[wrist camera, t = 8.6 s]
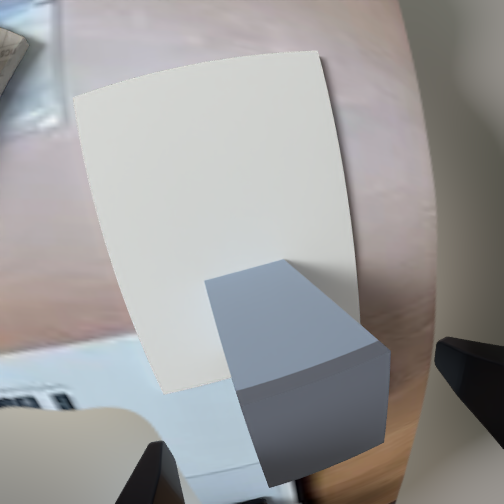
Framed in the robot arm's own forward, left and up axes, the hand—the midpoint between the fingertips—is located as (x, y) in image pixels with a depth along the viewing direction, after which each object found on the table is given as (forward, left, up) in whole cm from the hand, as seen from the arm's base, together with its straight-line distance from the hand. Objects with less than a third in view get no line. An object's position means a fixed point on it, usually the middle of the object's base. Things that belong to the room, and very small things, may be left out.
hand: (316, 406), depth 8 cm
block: (0, 0, -8) cm, 8 cm away
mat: (+4, 0, -9) cm, 10 cm away
